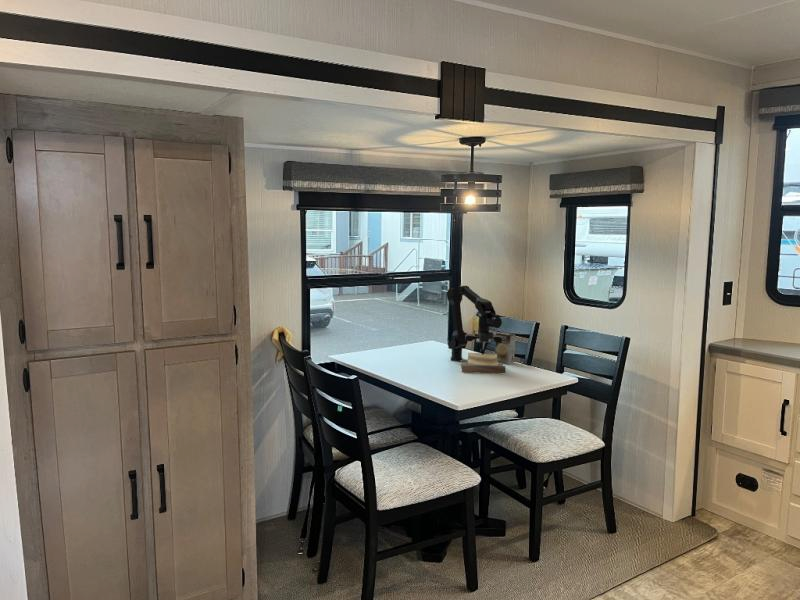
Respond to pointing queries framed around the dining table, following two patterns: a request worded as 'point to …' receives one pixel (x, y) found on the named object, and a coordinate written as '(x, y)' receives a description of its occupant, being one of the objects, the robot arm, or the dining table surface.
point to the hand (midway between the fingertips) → (482, 354)
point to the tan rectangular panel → (482, 359)
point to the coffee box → (505, 348)
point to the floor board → (482, 368)
